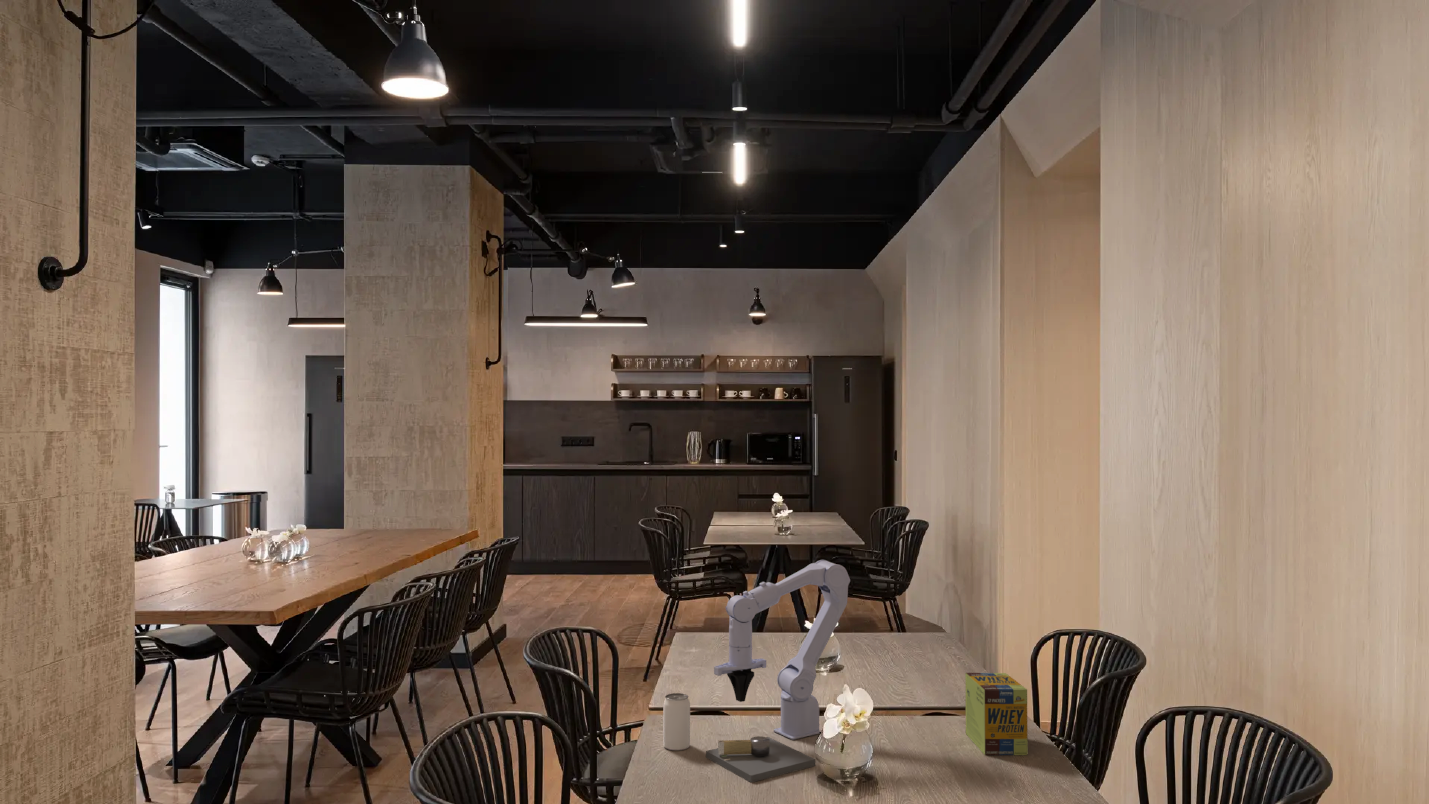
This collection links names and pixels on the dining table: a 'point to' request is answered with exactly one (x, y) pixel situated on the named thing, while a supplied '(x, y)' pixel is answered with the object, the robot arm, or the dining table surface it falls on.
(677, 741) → the can
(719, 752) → the brown bar with cylinder
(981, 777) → the dining table surface
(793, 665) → the robot arm
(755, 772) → the dial board
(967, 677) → the protein box
